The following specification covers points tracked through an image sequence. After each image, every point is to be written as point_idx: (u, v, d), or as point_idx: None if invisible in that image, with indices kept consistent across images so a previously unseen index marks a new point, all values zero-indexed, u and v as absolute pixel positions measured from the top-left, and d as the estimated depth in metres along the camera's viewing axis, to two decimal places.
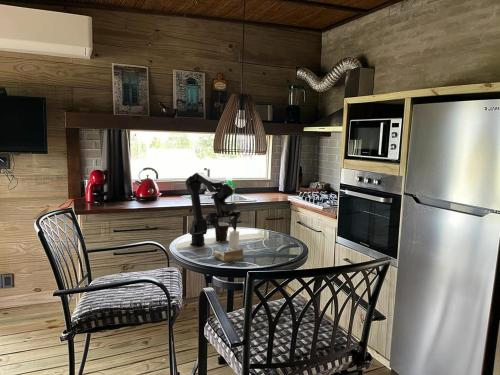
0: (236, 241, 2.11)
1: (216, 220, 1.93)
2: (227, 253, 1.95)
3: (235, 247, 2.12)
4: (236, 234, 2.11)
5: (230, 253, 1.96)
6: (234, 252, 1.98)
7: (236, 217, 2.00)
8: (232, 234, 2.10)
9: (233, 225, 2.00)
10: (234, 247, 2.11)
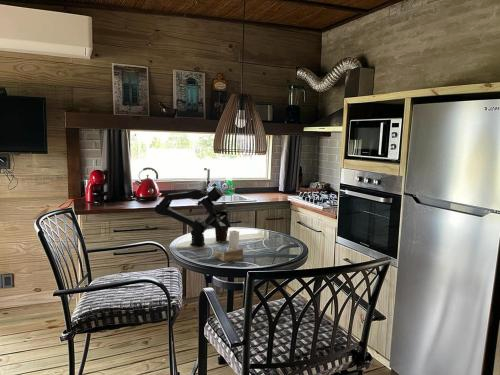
0: (236, 241, 2.11)
1: (216, 220, 2.10)
2: (227, 253, 1.95)
3: (235, 247, 2.12)
4: (236, 234, 2.11)
5: (230, 253, 1.96)
6: (234, 252, 1.98)
7: (227, 215, 2.21)
8: (232, 234, 2.10)
9: (226, 223, 2.20)
10: (234, 247, 2.11)
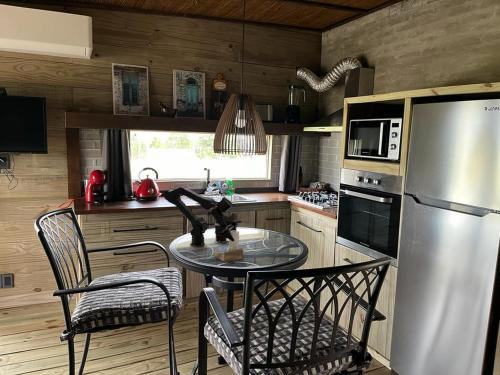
0: (236, 241, 2.11)
1: (228, 230, 2.09)
2: (227, 253, 1.95)
3: (235, 247, 2.12)
4: (236, 234, 2.11)
5: (230, 253, 1.96)
6: (234, 252, 1.98)
7: (235, 226, 2.17)
8: (232, 234, 2.10)
9: None
10: (234, 247, 2.11)
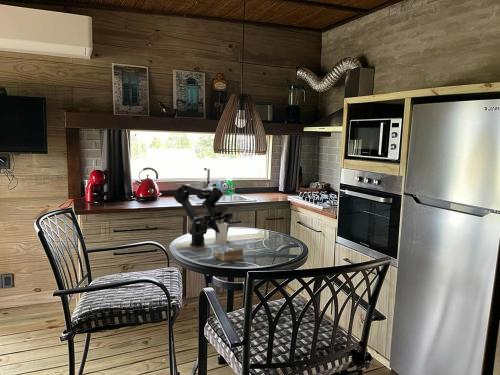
0: (221, 233, 2.03)
1: (213, 221, 2.02)
2: (227, 253, 1.95)
3: (221, 239, 2.03)
4: (222, 226, 2.02)
5: (230, 253, 1.96)
6: (234, 252, 1.98)
7: (226, 218, 2.08)
8: (218, 226, 2.03)
9: None
10: (220, 239, 2.03)
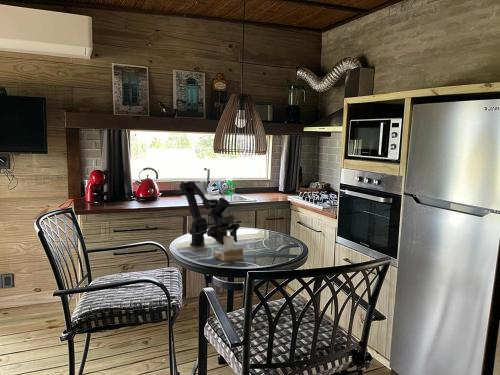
0: (228, 247, 1.99)
1: (218, 232, 1.98)
2: (227, 253, 1.95)
3: None
4: (228, 240, 1.98)
5: (230, 253, 1.96)
6: (234, 252, 1.98)
7: (235, 229, 2.05)
8: (224, 239, 1.99)
9: None
10: None
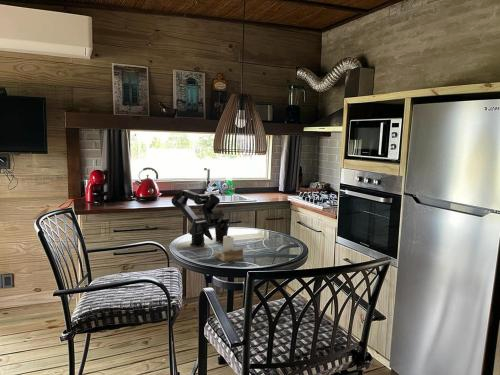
0: (228, 247, 1.99)
1: (207, 228, 2.04)
2: (227, 253, 1.95)
3: None
4: (228, 240, 1.98)
5: (230, 253, 1.96)
6: (234, 252, 1.98)
7: (225, 224, 2.11)
8: (224, 239, 1.99)
9: (224, 232, 2.11)
10: None
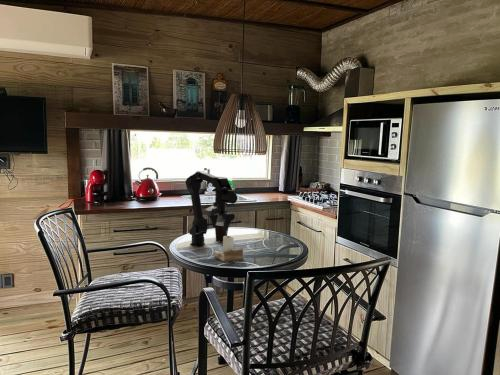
0: (228, 247, 1.99)
1: None
2: (227, 253, 1.95)
3: None
4: (228, 240, 1.98)
5: (230, 253, 1.96)
6: (234, 252, 1.98)
7: (223, 220, 2.01)
8: (224, 239, 1.99)
9: None
10: None
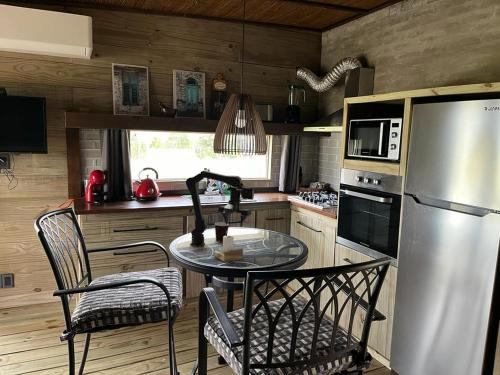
0: (228, 247, 1.99)
1: (223, 214, 2.18)
2: (227, 253, 1.95)
3: None
4: (228, 240, 1.98)
5: (230, 253, 1.96)
6: (234, 252, 1.98)
7: (241, 216, 2.13)
8: (224, 239, 1.99)
9: None
10: None
